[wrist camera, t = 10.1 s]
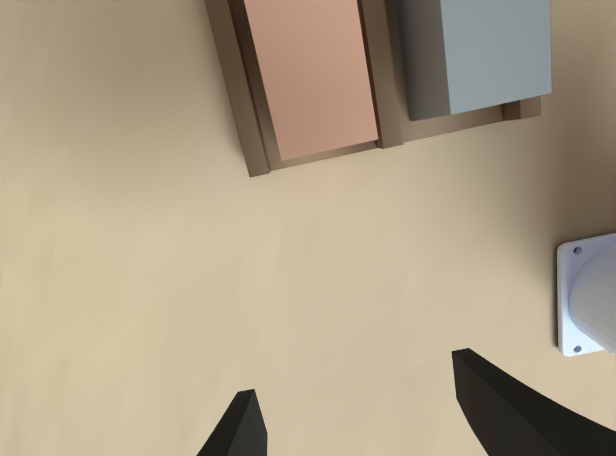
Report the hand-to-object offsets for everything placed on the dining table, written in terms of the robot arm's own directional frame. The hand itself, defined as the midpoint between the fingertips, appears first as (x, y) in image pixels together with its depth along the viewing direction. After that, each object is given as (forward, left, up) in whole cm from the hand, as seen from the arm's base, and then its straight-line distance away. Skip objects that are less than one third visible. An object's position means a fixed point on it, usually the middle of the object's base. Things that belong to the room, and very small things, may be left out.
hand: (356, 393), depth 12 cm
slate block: (-8, -13, -9) cm, 17 cm away
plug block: (-1, -12, -9) cm, 15 cm away
